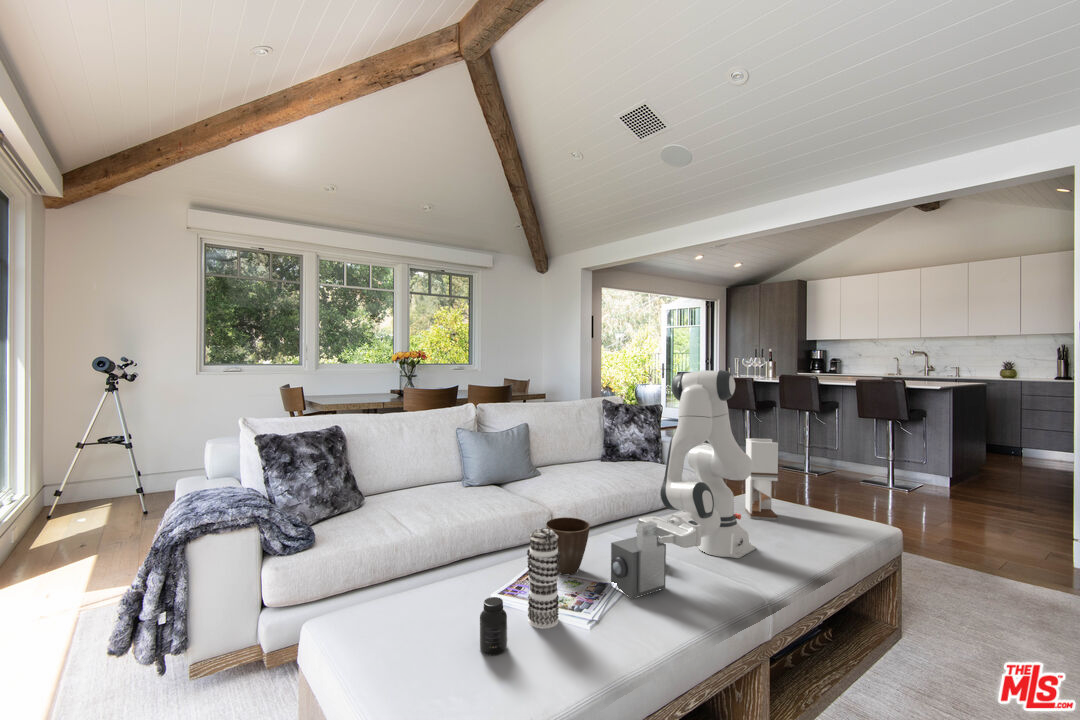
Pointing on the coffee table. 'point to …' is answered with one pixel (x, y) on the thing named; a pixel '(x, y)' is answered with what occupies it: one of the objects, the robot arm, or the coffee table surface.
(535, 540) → the black white cylinder
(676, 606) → the coffee table surface
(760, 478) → the white cabinet
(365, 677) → the coffee table surface
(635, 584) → the block
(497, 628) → the supplement bottle
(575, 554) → the plant pot
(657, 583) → the side door
